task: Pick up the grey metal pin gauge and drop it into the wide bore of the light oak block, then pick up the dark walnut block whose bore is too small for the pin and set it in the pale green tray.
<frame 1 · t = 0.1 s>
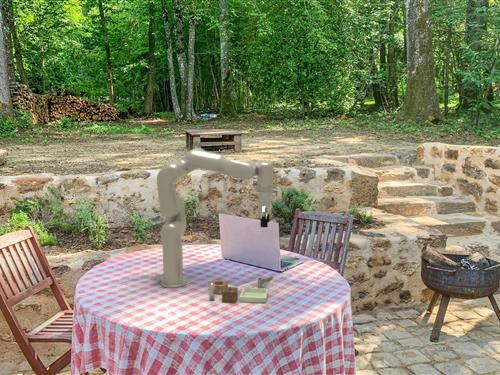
hand: (265, 224, 232), 31 cm above the table, tool pointing down, fingers open, 9 cm apart
tray: (254, 297, 225), on the table
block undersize: (230, 300, 223), on the table
pin: (212, 300, 223), on the table
caliper: (266, 284, 244), on the table
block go: (218, 291, 233), on the table
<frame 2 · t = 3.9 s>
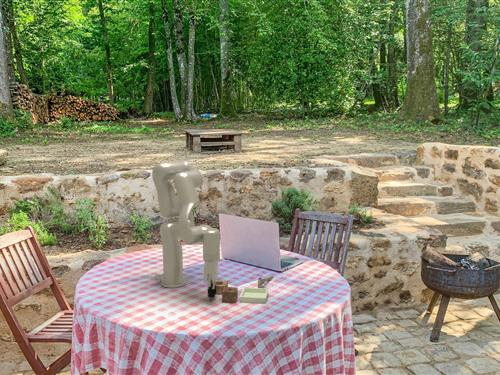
hand: (212, 295, 222), 2 cm above the table, tool pointing down, fingers closed on pin, 2 cm apart
pin: (212, 300, 223), on the table, touching gripper
everything else where it was.
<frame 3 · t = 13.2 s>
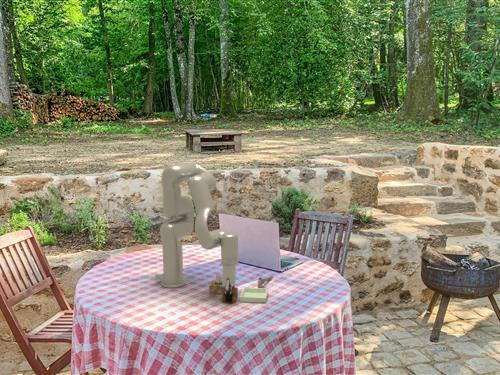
hand: (230, 298, 223), 1 cm above the table, tool pointing down, fingers closed on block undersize, 6 cm apart
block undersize: (230, 300, 223), on the table, touching gripper
pin: (218, 291, 234), resting in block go
everything else where it was.
when the fingers open (3 cm above the table, at t = 17.9 s): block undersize drops 2 cm, resting on tray.
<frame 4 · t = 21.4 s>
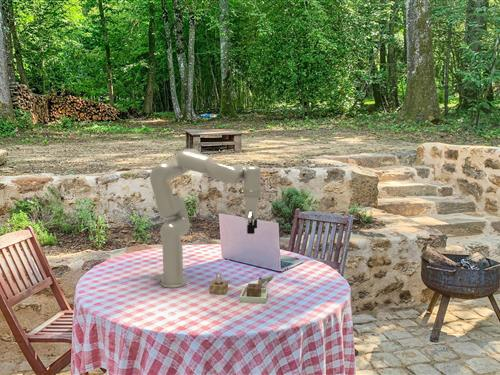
hand: (252, 230, 224), 30 cm above the table, tool pointing down, fingers open, 9 cm apart
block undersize: (254, 296, 225), point 1 cm above the table, touching tray
everything else where it was.
at the end: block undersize inside the target area on the tray (0.1 cm from its centre), point 0.6 cm above the tray's base; pin 0.0 cm from the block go (horizontally); pin resting in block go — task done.
